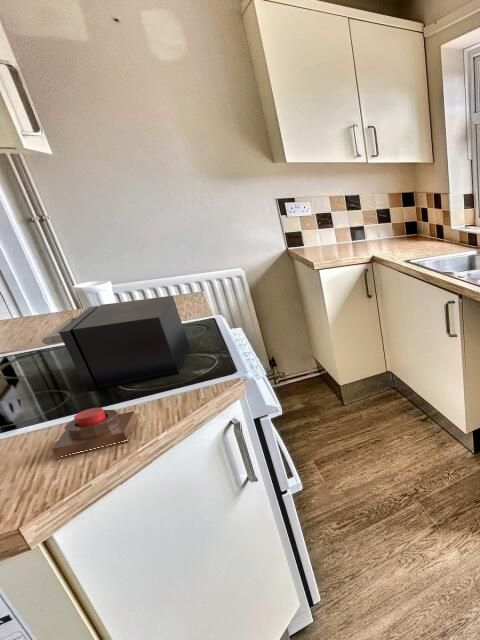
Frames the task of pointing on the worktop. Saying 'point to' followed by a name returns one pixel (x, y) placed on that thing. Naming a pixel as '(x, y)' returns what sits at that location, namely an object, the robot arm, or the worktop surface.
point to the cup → (95, 293)
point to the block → (95, 434)
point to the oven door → (74, 346)
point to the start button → (89, 417)
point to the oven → (133, 341)
